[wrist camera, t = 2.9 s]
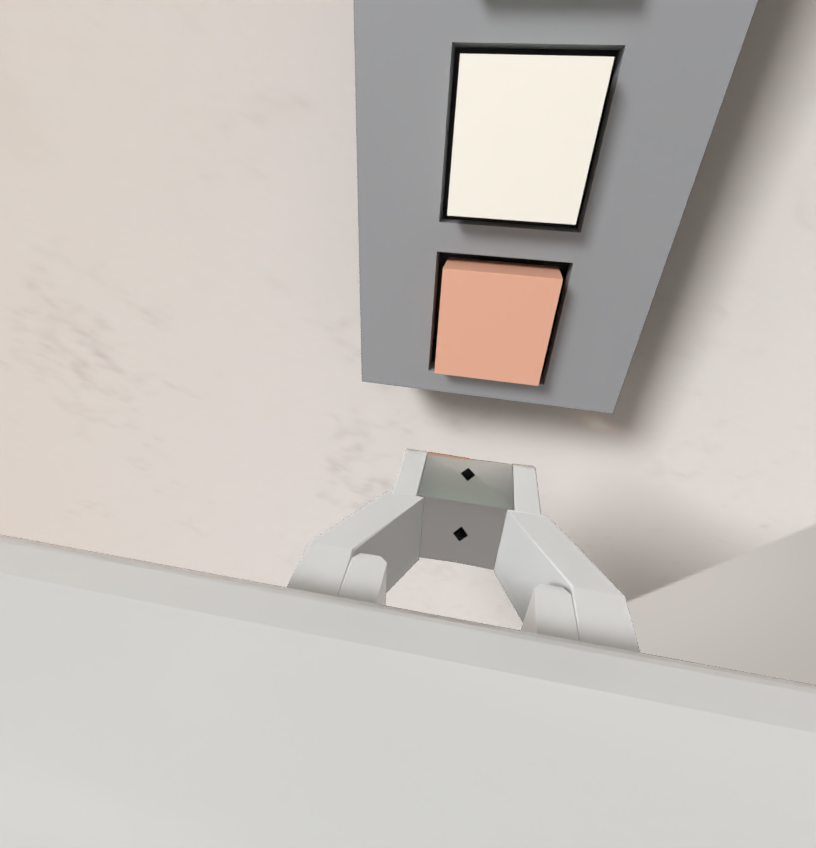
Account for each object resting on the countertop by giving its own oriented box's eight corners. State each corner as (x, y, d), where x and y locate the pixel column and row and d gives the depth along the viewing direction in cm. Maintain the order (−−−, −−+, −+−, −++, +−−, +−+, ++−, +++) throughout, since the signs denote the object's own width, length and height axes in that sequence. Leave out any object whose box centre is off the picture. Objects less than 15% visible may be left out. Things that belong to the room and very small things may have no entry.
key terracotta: (558, 266, 18) (563, 279, 17) (536, 366, 21) (538, 386, 19) (448, 257, 19) (442, 268, 17) (440, 355, 21) (434, 373, 20)
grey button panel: (941, -770, 9) (1277, -1474, 5) (594, 367, 24) (612, 413, 20) (396, -657, 11) (329, -1127, 7) (385, 342, 26) (361, 381, 22)
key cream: (602, 65, 15) (615, 56, 13) (569, 216, 17) (575, 224, 16) (465, 62, 15) (460, 53, 14) (452, 208, 18) (446, 215, 16)
